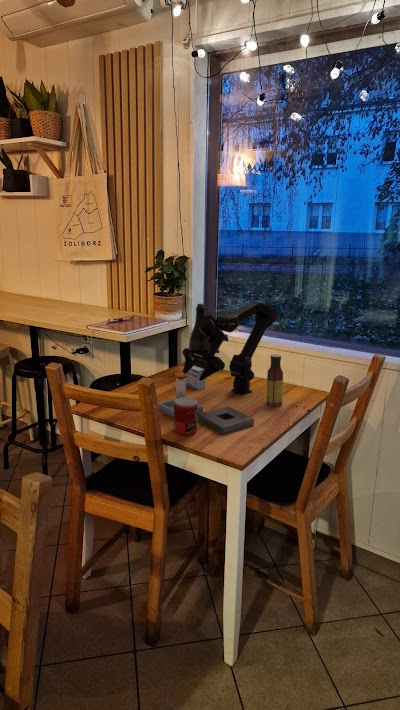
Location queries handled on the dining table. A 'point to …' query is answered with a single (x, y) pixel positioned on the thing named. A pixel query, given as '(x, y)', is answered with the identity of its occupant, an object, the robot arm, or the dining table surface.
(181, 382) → the hitch pin
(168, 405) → the tray
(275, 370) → the sauce bottle
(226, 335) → the robot arm
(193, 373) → the medicine box
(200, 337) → the wine bottle
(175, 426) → the canned food
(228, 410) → the block
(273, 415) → the dining table surface
